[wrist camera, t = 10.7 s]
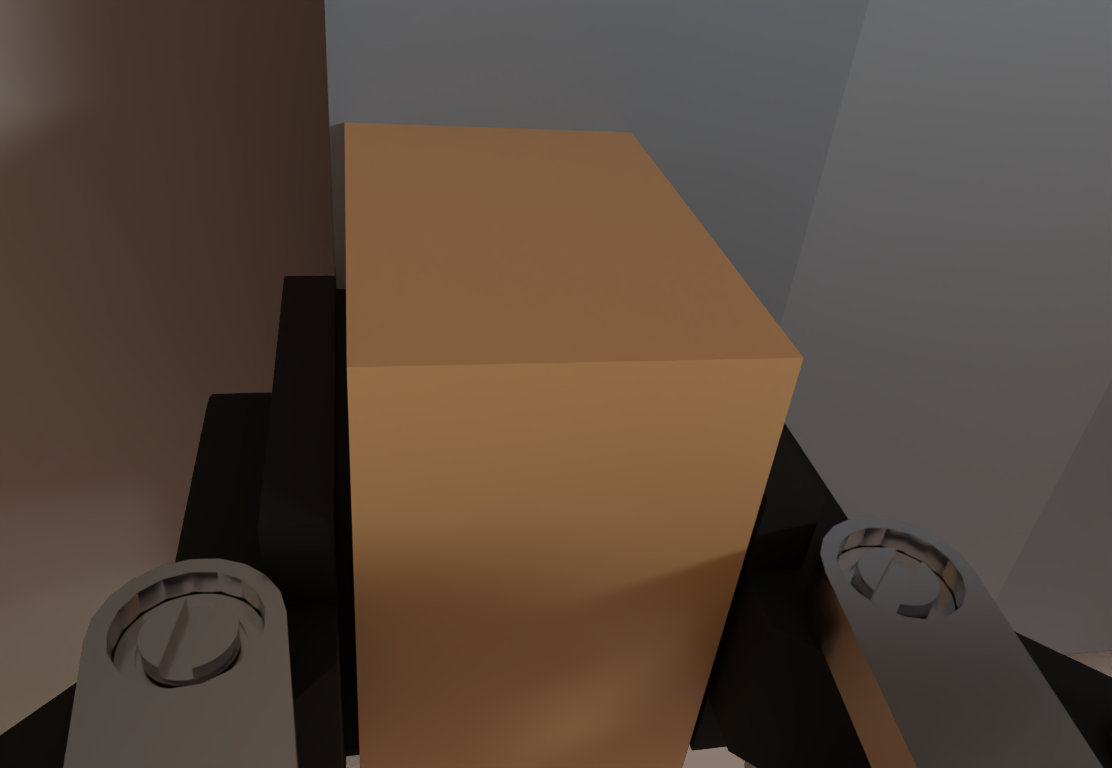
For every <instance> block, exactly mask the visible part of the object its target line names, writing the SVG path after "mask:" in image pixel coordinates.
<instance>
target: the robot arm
mask: <svg viewBox="0 0 1112 768" xmlns="http://www.w3.org/2000/svg"><path fill="white" fill-rule="evenodd" d="M689 744H690V747H691V749H692V750H701V749H709V748H718V747H726V746H727V748H728V751H730V752H731V753H733V754H735V755H736V756H738V757H740V758H741V759H743V760H745V764H744V766H745V768H1112V677H1110V676H1107V675H1105V674H1103V673H1101V672H1099V671H1097V670H1095V669H1093V668H1091V667H1088V666H1086V665H1084V664H1082V663H1080V662H1078V661H1076V660H1074V659H1072V658H1070V657H1067V656H1065V655H1063V654H1061V653H1059V652H1057V651H1055V650H1053V649H1051V648H1049V647H1046V646H1044V645H1042V644H1040V643H1038V642H1036V641H1034V640H1032V639H1030V638H1027V637H1025V636H1023V635H1021V634H1019V633H1017V632H1015V631H1014V630H1013V629H1012V627H1011V626H1010V624H1009V623H1008V621H1007V620H1006V618H1005V617H1004V615H1003V613H1002V612H1001V610H1000V609H999V607H998V606H997V604H996V603H995V601H994V600H993V598H992V597H991V595H990V594H989V592H988V590H987V589H986V587H985V586H984V584H983V583H982V581H981V580H980V578H979V577H978V575H977V574H976V572H975V571H974V569H973V568H972V567H971V566H970V565H969V564H968V562H967V561H966V560H965V559H964V558H963V557H962V555H961V554H960V553H959V552H957V551H956V550H955V549H953V548H952V547H951V546H949V545H948V544H947V543H945V542H944V541H943V540H942V539H940V538H938V537H936V536H934V535H932V534H931V533H929V532H927V531H925V530H923V529H921V528H919V527H917V526H913V525H910V524H907V523H904V522H901V521H897V520H894V519H887V518H878V517H862V518H853V519H848V518H847V516H846V515H845V513H844V512H843V510H842V509H841V507H840V506H839V504H838V503H837V501H836V500H835V498H834V497H833V495H832V494H831V492H830V491H829V489H828V488H827V486H826V484H825V483H824V481H823V480H822V478H821V477H820V475H819V474H818V472H817V471H816V469H815V468H814V466H813V465H812V463H811V462H810V460H809V459H808V457H807V456H806V454H805V453H804V451H803V450H802V448H801V447H800V445H799V444H798V442H797V441H796V439H795V438H794V436H793V435H792V433H791V432H790V430H789V429H788V427H787V426H786V424H785V422H784V426H783V429H782V433H781V436H780V439H779V443H778V446H777V449H776V453H775V456H774V460H773V463H772V466H771V470H770V473H769V476H768V480H767V483H766V487H765V490H764V493H763V497H762V500H761V503H760V507H759V510H758V514H757V517H756V520H755V524H754V527H753V531H752V534H751V537H750V541H749V544H748V547H747V551H746V554H745V558H744V561H743V564H742V568H741V571H740V574H739V578H738V581H737V585H736V588H735V591H734V595H733V598H732V601H731V605H730V608H729V612H728V615H727V618H726V622H725V625H724V628H723V632H722V635H721V639H720V642H719V645H718V649H717V652H716V655H715V659H714V662H713V666H712V669H711V672H710V676H709V679H708V683H707V686H706V689H705V693H704V696H703V699H702V703H701V706H700V710H699V713H698V716H697V720H696V723H695V726H694V730H693V733H692V737H691V740H690V743H689ZM353 755H360V750H359V720H358V690H357V659H356V629H355V599H354V569H353V539H352V509H351V478H350V448H349V418H348V388H347V333H346V289H337V288H336V276H285V277H284V285H283V294H282V303H281V313H280V322H279V332H278V341H277V351H276V360H275V370H274V379H273V388H272V393H236V394H212V395H211V396H210V397H209V401H208V404H207V408H206V413H205V418H204V423H203V428H202V433H201V438H200V443H199V448H198V452H197V457H196V462H195V467H194V472H193V477H192V482H191V487H190V492H189V497H188V502H187V507H186V511H185V516H184V521H183V526H182V531H181V536H180V541H179V546H178V551H177V556H176V561H175V563H172V564H168V565H163V566H160V567H158V568H156V569H153V570H151V571H149V572H147V573H145V574H142V575H140V576H138V577H136V578H133V579H132V580H131V581H129V582H128V583H127V584H125V585H124V586H123V587H121V588H120V589H119V590H117V591H116V592H114V593H113V594H112V595H110V596H109V597H108V599H107V600H106V601H105V602H104V604H103V605H102V606H101V607H100V609H99V610H98V611H97V612H96V613H95V615H94V616H93V617H92V619H91V622H90V625H89V627H88V630H87V633H86V635H85V638H84V641H83V646H82V653H81V659H80V665H79V672H78V678H77V682H76V683H75V684H74V685H72V686H71V687H69V688H68V689H66V690H65V691H64V692H62V693H61V694H59V695H58V696H56V697H55V698H53V699H52V700H51V701H49V702H48V703H46V704H45V705H43V706H42V707H41V708H39V709H38V710H36V711H35V712H33V713H32V714H31V715H29V716H28V717H26V718H25V719H23V720H22V721H20V722H19V723H18V724H16V725H15V726H13V727H12V728H10V729H9V730H8V731H6V732H5V733H3V734H2V735H0V768H346V756H353Z"/></svg>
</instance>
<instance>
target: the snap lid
mask: <svg viewBox="0 0 1112 768" xmlns="http://www.w3.org/2000/svg"><path fill="white" fill-rule="evenodd" d="M324 4H325V30H326V55H327V81H328V107H329V132H330V158H331V183H332V209H333V235H334V260H335V276H336V288H337V289H346V333H347V388H348V418H349V448H350V478H351V509H352V539H353V569H354V599H355V629H356V659H357V690H358V720H359V750H360V768H682V767H683V764H684V760H685V757H686V753H687V750H688V747H689V743H690V740H691V737H692V733H693V730H694V726H695V723H696V720H697V716H698V713H699V710H700V706H701V703H702V699H703V696H704V693H705V689H706V686H707V683H708V679H709V676H710V672H711V669H712V666H713V662H714V659H715V655H716V652H717V649H718V645H719V642H720V639H721V635H722V632H723V628H724V625H725V622H726V618H727V615H728V612H729V608H730V605H731V601H732V598H733V595H734V591H735V588H736V585H737V581H738V578H739V574H740V571H741V568H742V564H743V561H744V558H745V554H746V551H747V547H748V544H749V541H750V537H751V534H752V531H753V527H754V524H755V520H756V517H757V514H758V510H759V507H760V503H761V500H762V497H763V493H764V490H765V487H766V483H767V480H768V476H769V473H770V470H771V466H772V463H773V460H774V456H775V453H776V449H777V446H778V443H779V439H780V436H781V433H782V429H783V426H784V422H785V424H786V426H787V427H788V429H789V430H790V432H791V433H792V435H793V436H794V438H795V439H796V441H797V442H798V444H799V445H800V447H801V448H802V450H803V451H804V453H805V454H806V456H807V457H808V459H809V460H810V462H811V463H812V465H813V466H814V468H815V469H816V471H817V472H818V474H819V475H820V477H821V478H822V480H823V481H824V483H825V484H826V486H827V488H828V489H829V491H830V492H831V494H832V495H833V497H834V498H835V500H836V501H837V503H838V504H839V506H840V507H841V509H842V510H843V512H844V513H845V515H846V516H847V518H848V519H853V518H862V517H878V518H887V519H894V520H897V521H901V522H904V523H907V524H910V525H913V526H917V527H919V528H921V529H923V530H925V531H927V532H929V533H931V534H932V535H934V536H936V537H938V538H940V539H942V540H943V541H944V542H945V543H947V544H948V545H949V546H951V547H952V548H953V549H955V550H956V551H957V552H959V553H960V554H961V555H962V557H963V558H964V559H965V560H966V561H967V562H968V564H969V565H970V566H971V567H972V568H973V569H974V571H975V572H976V574H977V575H978V577H979V578H980V580H981V581H982V583H983V584H984V586H985V587H986V589H987V590H988V592H989V594H990V595H991V597H992V598H993V600H994V601H995V603H996V604H997V606H998V607H999V609H1000V610H1001V612H1002V613H1003V615H1004V617H1005V618H1006V620H1007V621H1008V623H1009V624H1010V626H1011V627H1012V629H1013V630H1014V631H1015V632H1017V633H1019V634H1021V635H1023V636H1025V637H1027V638H1030V639H1032V640H1034V641H1036V642H1038V643H1040V644H1042V645H1044V646H1046V647H1049V648H1051V649H1053V650H1055V651H1057V652H1059V653H1061V654H1063V655H1068V654H1077V653H1087V652H1097V651H1106V650H1112V0H324Z"/></svg>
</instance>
